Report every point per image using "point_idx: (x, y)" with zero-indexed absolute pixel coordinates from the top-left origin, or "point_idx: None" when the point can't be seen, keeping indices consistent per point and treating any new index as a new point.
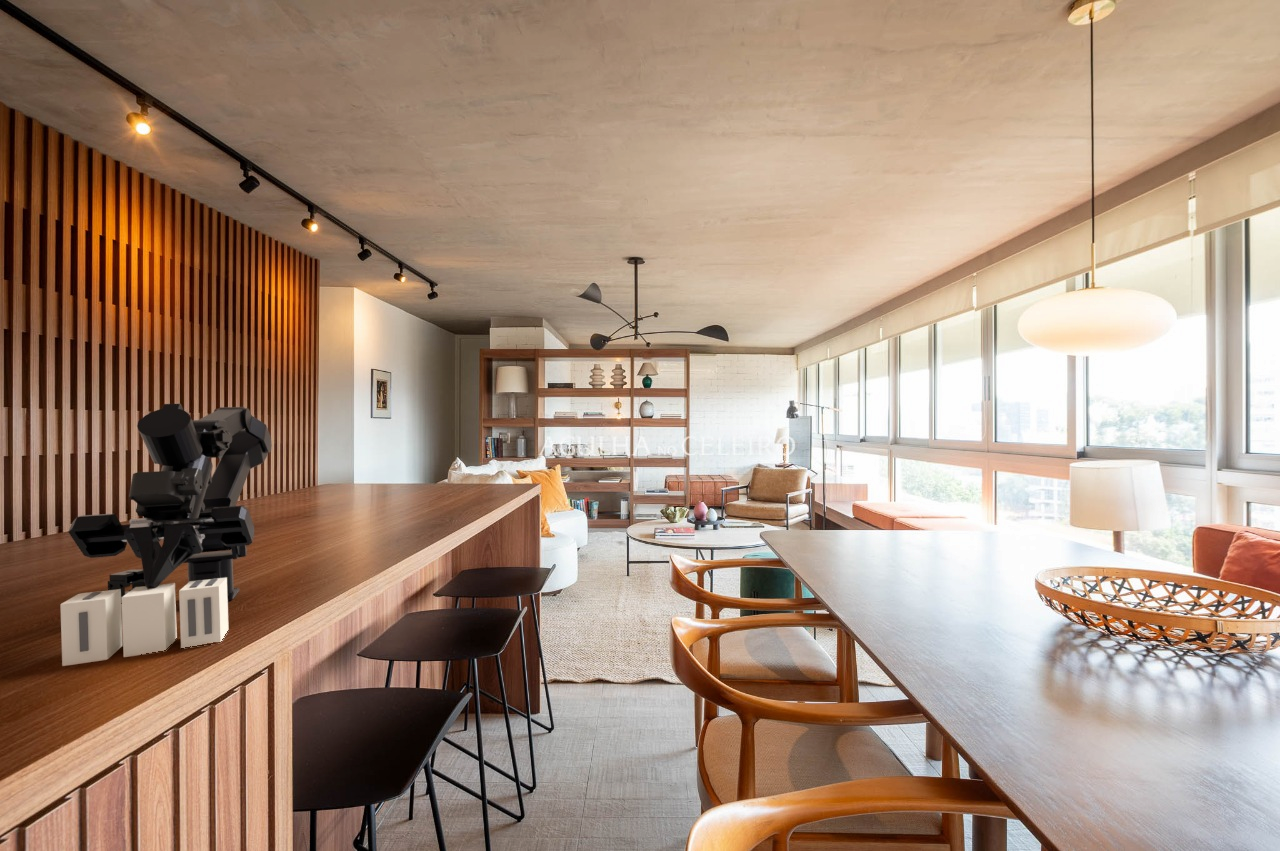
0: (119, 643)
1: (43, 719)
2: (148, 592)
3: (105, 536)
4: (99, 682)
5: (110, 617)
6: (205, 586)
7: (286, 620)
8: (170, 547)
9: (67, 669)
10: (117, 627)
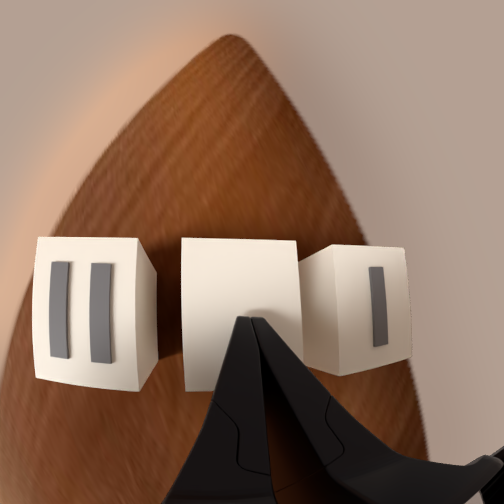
0: None
1: (258, 83)
2: (234, 270)
3: (493, 477)
4: (242, 157)
5: (307, 288)
6: (69, 258)
7: (13, 362)
8: (212, 459)
9: (316, 249)
10: None
